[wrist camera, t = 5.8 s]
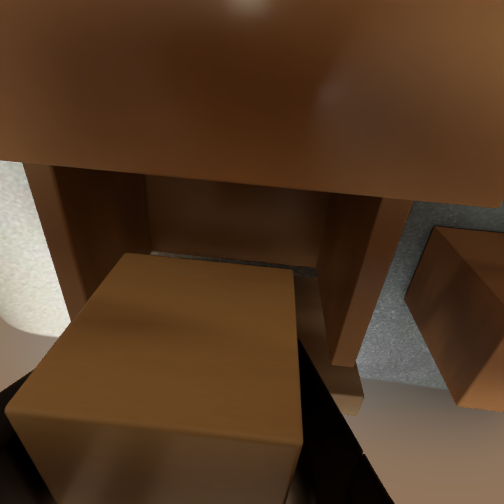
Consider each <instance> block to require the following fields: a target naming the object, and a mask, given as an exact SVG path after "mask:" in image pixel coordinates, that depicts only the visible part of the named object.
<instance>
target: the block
mask: <svg viewBox="0 0 504 504" xmlns="http://www.w3.org/2000/svg"><path fill="white" fill-rule="evenodd" d="M5 414H6V416H7V418H8V419H9V421H10V423H11V425H12V426H13V428H14V430H15V432H16V433H17V435H18V437H19V439H20V440H21V442H22V444H23V446H24V447H25V449H26V451H27V453H28V454H29V456H30V458H31V460H32V461H33V463H34V465H35V467H36V468H37V470H38V472H39V474H40V475H41V477H42V479H43V481H44V482H45V484H46V486H47V488H48V489H49V491H50V493H51V495H52V496H53V498H54V500H55V502H56V503H57V504H286V500H287V497H288V493H289V490H290V486H291V483H292V480H293V476H294V473H295V469H296V466H297V462H298V459H299V455H300V452H301V448H302V445H303V429H302V411H301V394H300V377H299V360H298V343H297V325H296V308H295V291H294V274H293V271H292V270H291V269H283V268H274V267H264V266H254V265H244V264H234V263H224V262H214V261H205V260H195V259H185V258H175V257H165V256H155V255H145V254H136V253H125V254H124V255H123V256H122V257H121V258H120V260H119V261H118V262H117V264H116V265H115V266H114V267H113V269H112V270H111V271H110V273H109V274H108V275H107V276H106V278H105V279H104V280H103V282H102V283H101V284H100V286H99V287H98V288H97V289H96V291H95V292H94V293H93V295H92V296H91V297H90V298H89V300H88V301H87V302H86V304H85V305H84V306H83V307H82V309H81V310H80V311H79V313H78V314H77V315H76V316H75V318H74V319H73V320H72V322H71V323H70V324H69V325H68V327H67V328H66V329H65V331H64V332H63V333H62V334H61V336H60V337H59V338H58V340H57V341H56V342H55V344H54V345H53V346H52V347H51V349H50V350H49V351H48V353H47V354H46V355H45V356H44V358H43V359H42V360H41V362H40V363H39V364H38V365H37V367H36V368H35V369H34V371H33V372H32V373H31V374H30V376H29V377H28V378H27V380H26V381H25V382H24V383H23V385H22V386H21V387H20V389H19V390H18V391H17V392H16V394H15V395H14V396H13V398H12V399H11V400H10V401H9V403H8V404H7V405H6V408H5Z"/></svg>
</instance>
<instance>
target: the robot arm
mask: <svg viewBox="0 0 504 504" xmlns="http://www.w3.org/2000/svg"><path fill="white" fill-rule="evenodd" d="M297 343H298V360H299V377H300V394H301V411H302V429H303V445H302V448H301V452H300V455H299V459H298V462H297V466H296V469H295V473H294V476H293V480H292V483H291V486H290V490H289V493H288V497H287V500H286V504H394V502H393V500H392V499H391V497H390V496H389V495H388V493H387V491H386V489H385V488H384V486H383V484H382V483H381V481H380V479H379V478H378V476H377V474H376V473H375V471H374V469H373V467H372V466H371V464H370V462H369V460H368V459H367V457H366V455H365V454H362V453H363V450H362V448H361V446H360V445H359V443H358V441H357V439H356V438H355V436H354V434H353V432H352V431H351V429H350V427H349V425H348V424H347V422H346V420H345V419H344V417H343V415H342V413H341V411H340V410H339V408H338V406H337V404H336V403H335V401H334V399H333V397H332V396H331V394H330V392H329V390H328V388H327V387H326V385H325V383H324V381H323V380H322V378H321V376H320V374H319V373H318V371H317V369H316V367H315V366H314V364H313V362H312V360H311V359H310V357H309V355H308V353H307V352H306V350H305V348H304V346H303V345H302V343H301V341H300V339H298V338H297ZM33 371H34V370H32V371H31V372H29V373H28V374H26V375H25V376H24V377H22V378H21V379H19V380H18V381H16V382H15V383H13V384H12V385H10V386H9V387H7V388H6V389H4V390H3V391H2V392H0V504H57V503H56V502H55V500H54V498H53V496H52V495H51V493H50V491H49V489H48V488H47V486H46V484H45V482H44V481H43V479H42V477H41V475H40V474H39V472H38V470H37V468H36V467H35V465H34V463H33V461H32V460H31V458H30V456H29V454H28V453H27V451H26V449H25V447H24V446H23V444H22V442H21V440H20V439H19V437H18V435H17V433H16V432H15V430H14V428H13V426H12V425H11V423H10V421H9V419H8V418H7V416H6V414H5V408H6V405H7V404H8V403H9V401H10V400H11V399H12V398H13V396H14V395H15V394H16V392H17V391H18V390H19V389H20V387H21V386H22V385H23V383H24V382H25V381H26V380H27V378H28V377H29V376H30V374H31V373H32V372H33Z"/></svg>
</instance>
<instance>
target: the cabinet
mask: <svg viewBox="0 0 504 504" xmlns="http://www.w3.org/2000/svg"><path fill="white" fill-rule="evenodd" d="M0 160H2V161H12V162H23V163H33V164H43V165H54V166H64V167H74V168H85V169H95V170H105V171H116V172H126V173H136V174H147V175H157V176H167V177H178V178H188V179H198V180H208V181H219V182H229V183H239V184H250V185H260V186H270V187H281V188H291V189H301V190H312V191H322V192H332V193H343V194H353V195H363V196H374V197H384V198H394V199H405V200H415V201H425V202H436V203H446V204H456V205H466V206H477V207H487V208H499V207H500V206H501V205H502V203H503V201H504V0H0Z"/></svg>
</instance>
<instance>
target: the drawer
mask: <svg viewBox="0 0 504 504" xmlns="http://www.w3.org/2000/svg"><path fill="white" fill-rule="evenodd" d="M22 163H23V162H22ZM23 166H24V170H25V173H26V176H27V179H28V183H29V186H30V189H31V192H32V196H33V199H34V202H35V205H36V209H37V212H38V215H39V218H40V222H41V225H42V228H43V232H44V235H45V238H46V241H47V245H48V248H49V251H50V254H51V258H52V261H53V264H54V267H55V271H56V274H57V277H58V280H59V284H60V287H61V290H62V293H63V297H64V300H65V303H66V306H67V310H68V313H69V316H70V320H71V322H72V320H73V319H74V318H75V316H76V315H77V314H78V313H79V311H80V310H81V309H82V307H83V306H84V305H85V304H86V302H87V301H88V300H89V298H90V297H91V296H92V295H93V293H94V292H95V291H96V289H97V288H98V287H99V286H100V284H101V283H102V282H103V280H104V279H105V278H106V276H107V275H108V274H109V273H110V271H111V270H112V269H113V267H114V266H115V265H116V264H117V262H118V261H119V260H120V258H121V257H122V256H123V255H124V254H125V253H136V254H145V255H150V254H151V252H152V251H157V252H167V253H177V254H186V255H196V256H206V257H215V258H225V259H235V260H244V261H254V262H264V263H273V264H283V265H293V266H302V267H312V268H316V272H317V278H316V277H307V276H297V275H294V291H295V308H296V325H297V338H298V339H300V341H301V343H302V345H303V346H304V348H305V350H306V352H307V353H308V355H309V357H310V359H311V360H312V362H313V364H314V366H315V367H316V369H317V371H318V373H319V374H320V376H321V378H322V380H323V381H324V383H325V385H326V387H327V388H328V390H329V392H330V394H331V396H332V397H333V399H334V401H335V403H336V404H337V406H338V408H339V410H340V411H341V413H342V414H346V415H355V416H356V415H357V414H358V412H359V409H360V407H361V405H362V402H363V400H364V394H363V389H362V385H361V381H360V377H359V373H358V368H357V364H356V358H357V355H358V353H359V350H360V347H361V344H362V342H363V339H364V336H365V333H366V331H367V328H368V325H369V322H370V320H371V317H372V314H373V311H374V309H375V306H376V303H377V300H378V298H379V295H380V292H381V289H382V287H383V284H384V281H385V278H386V276H387V273H388V270H389V267H390V265H391V262H392V259H393V256H394V254H395V251H396V248H397V245H398V243H399V240H400V237H401V234H402V232H403V229H404V226H405V223H406V221H407V218H408V215H409V212H410V210H411V207H412V204H413V201H414V200H405V199H394V198H384V197H374V196H363V195H353V194H343V193H332V192H322V191H312V190H301V189H291V188H281V187H270V186H260V185H250V184H239V183H229V182H219V181H208V180H198V179H188V178H178V177H167V176H157V175H147V174H136V173H126V172H116V171H105V170H95V169H85V168H74V167H64V166H54V165H43V164H33V163H23Z"/></svg>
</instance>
